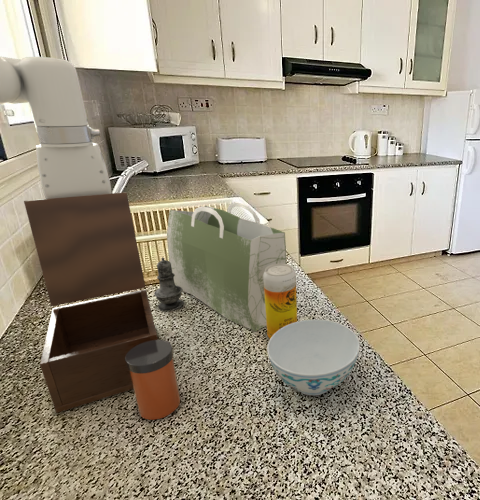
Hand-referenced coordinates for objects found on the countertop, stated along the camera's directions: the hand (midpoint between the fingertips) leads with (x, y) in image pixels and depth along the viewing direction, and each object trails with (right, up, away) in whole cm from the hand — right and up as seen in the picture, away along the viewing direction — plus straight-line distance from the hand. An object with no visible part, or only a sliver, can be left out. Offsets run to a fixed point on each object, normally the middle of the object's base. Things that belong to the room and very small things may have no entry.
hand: (90, 235), depth 72 cm
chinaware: (+44, -26, -8) cm, 52 cm away
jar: (+21, -27, -14) cm, 37 cm away
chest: (+8, -23, -5) cm, 25 cm away
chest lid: (+3, -3, -4) cm, 5 cm away
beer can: (+36, -21, +4) cm, 42 cm away
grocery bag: (+22, -14, +19) cm, 32 cm away
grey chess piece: (+9, -16, +15) cm, 23 cm away
